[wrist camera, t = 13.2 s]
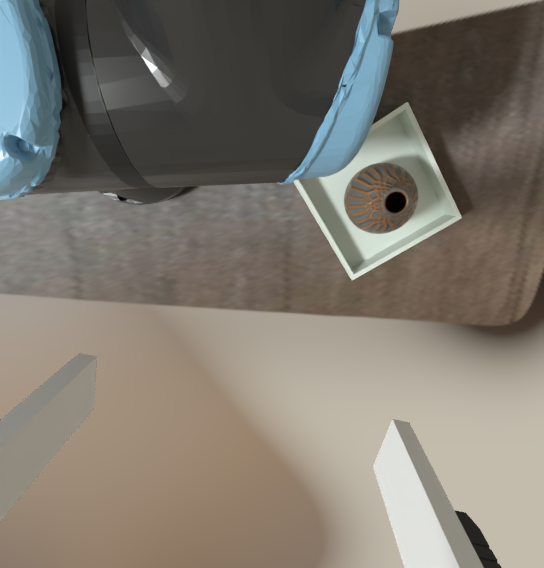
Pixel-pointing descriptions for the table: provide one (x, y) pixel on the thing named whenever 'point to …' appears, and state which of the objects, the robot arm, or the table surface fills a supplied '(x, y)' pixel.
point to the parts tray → (376, 149)
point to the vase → (381, 198)
